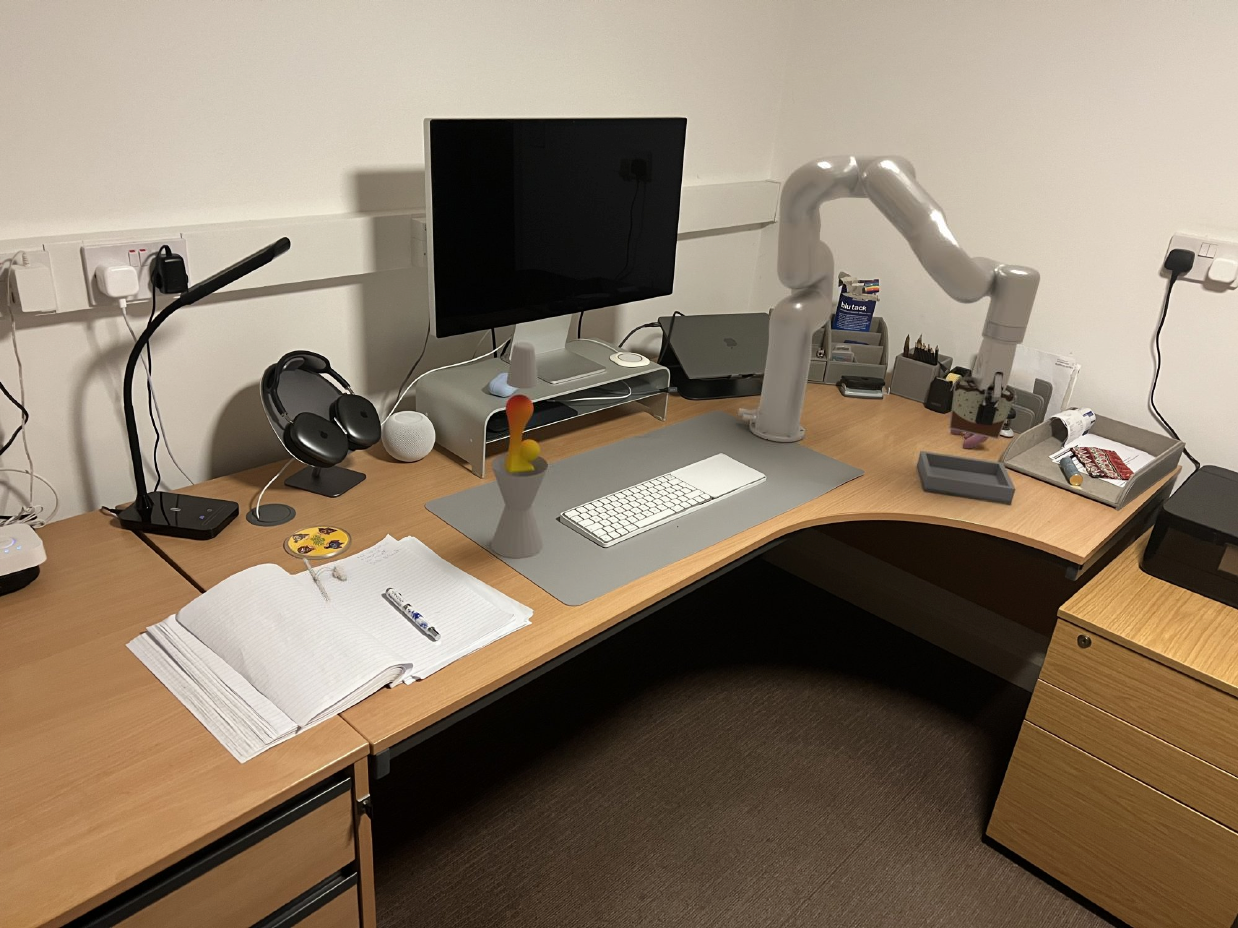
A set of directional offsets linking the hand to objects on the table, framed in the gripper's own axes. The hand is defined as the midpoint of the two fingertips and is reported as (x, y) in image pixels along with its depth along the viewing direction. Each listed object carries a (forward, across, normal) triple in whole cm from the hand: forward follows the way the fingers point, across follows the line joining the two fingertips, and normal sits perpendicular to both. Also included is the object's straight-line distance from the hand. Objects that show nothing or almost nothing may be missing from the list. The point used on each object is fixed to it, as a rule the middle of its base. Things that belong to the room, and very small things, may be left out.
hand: (980, 417), depth 177 cm
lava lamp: (+15, +53, -80) cm, 97 cm away
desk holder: (+15, 0, 0) cm, 15 cm away
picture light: (+16, +71, -104) cm, 127 cm away
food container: (+3, -1, 0) cm, 3 cm away
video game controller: (+15, -26, +5) cm, 30 cm away
